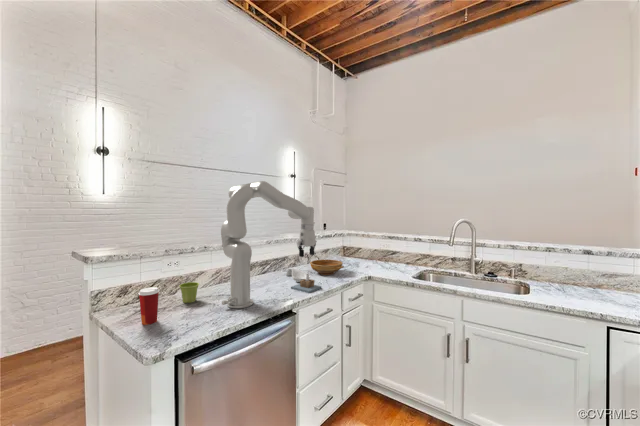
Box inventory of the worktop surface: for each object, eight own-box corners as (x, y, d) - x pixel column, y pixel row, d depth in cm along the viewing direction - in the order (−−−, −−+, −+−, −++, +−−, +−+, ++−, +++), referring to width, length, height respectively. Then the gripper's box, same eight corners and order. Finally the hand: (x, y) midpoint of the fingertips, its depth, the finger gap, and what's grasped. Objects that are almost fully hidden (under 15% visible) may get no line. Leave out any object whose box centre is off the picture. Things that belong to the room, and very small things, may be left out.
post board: (309, 293, 159) (309, 277, 159) (290, 288, 168) (290, 273, 167) (321, 288, 169) (321, 273, 169) (303, 284, 177) (303, 269, 177)
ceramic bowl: (300, 273, 207) (300, 262, 207) (321, 267, 226) (321, 257, 226) (332, 279, 188) (332, 268, 188) (352, 273, 207) (352, 262, 207)
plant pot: (203, 300, 147) (203, 283, 147) (186, 305, 139) (186, 288, 139) (192, 297, 152) (191, 281, 152) (175, 302, 144) (175, 285, 143)
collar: (308, 288, 165) (308, 282, 165) (300, 286, 168) (300, 280, 168) (314, 285, 170) (314, 280, 169) (306, 284, 173) (306, 278, 173)
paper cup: (163, 318, 123) (163, 286, 123) (153, 325, 115) (153, 292, 115) (145, 318, 123) (144, 286, 122) (134, 326, 115) (133, 292, 115)
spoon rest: (313, 282, 183) (313, 271, 183) (297, 285, 176) (297, 273, 176) (295, 275, 202) (295, 265, 202) (280, 277, 196) (280, 267, 196)
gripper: (302, 228, 159) (302, 258, 159) (320, 227, 173) (320, 254, 173) (292, 227, 163) (292, 256, 164) (311, 226, 177) (310, 253, 177)
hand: (306, 255), depth 168 cm, fingers open, 9 cm apart
